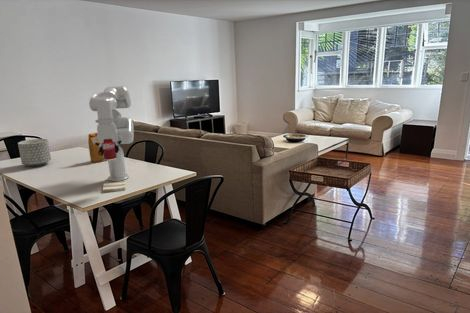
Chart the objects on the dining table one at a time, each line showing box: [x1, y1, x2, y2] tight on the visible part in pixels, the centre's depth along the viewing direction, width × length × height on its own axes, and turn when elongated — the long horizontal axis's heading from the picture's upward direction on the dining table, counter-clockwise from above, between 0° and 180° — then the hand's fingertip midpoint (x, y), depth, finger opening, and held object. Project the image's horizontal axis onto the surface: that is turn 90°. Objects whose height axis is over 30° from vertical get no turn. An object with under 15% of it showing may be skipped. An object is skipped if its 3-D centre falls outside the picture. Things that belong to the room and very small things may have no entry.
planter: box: [17, 138, 52, 168], centre depth 243 cm, size 19×19×18 cm
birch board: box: [102, 180, 126, 194], centre depth 191 cm, size 12×12×2 cm
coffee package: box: [87, 132, 106, 163], centre depth 250 cm, size 10×12×22 cm
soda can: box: [102, 139, 117, 161], centre depth 182 cm, size 7×7×12 cm
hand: (109, 152), depth 183 cm, fingers closed on soda can, 7 cm apart
